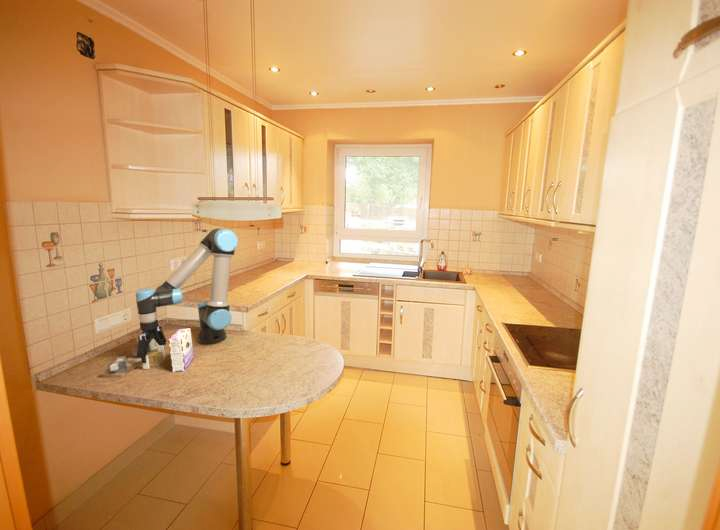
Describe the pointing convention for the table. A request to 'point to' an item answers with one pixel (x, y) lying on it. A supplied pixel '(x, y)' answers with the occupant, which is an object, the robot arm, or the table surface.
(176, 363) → the candy box
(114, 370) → the shaft bed
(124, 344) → the table surface
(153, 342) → the mug
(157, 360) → the block
